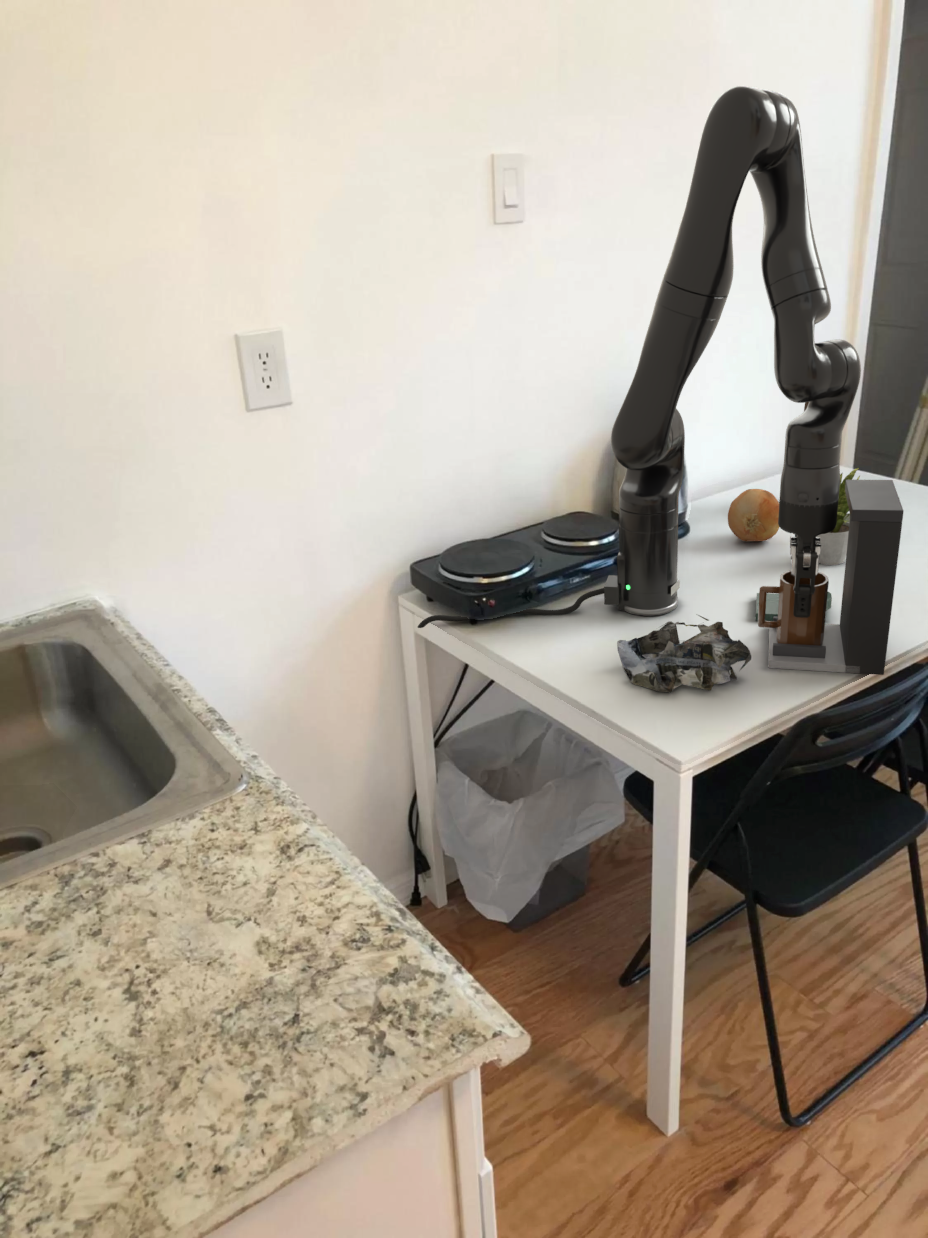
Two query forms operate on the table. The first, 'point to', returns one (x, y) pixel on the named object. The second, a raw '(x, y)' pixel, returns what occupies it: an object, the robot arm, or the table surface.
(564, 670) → the table surface
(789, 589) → the mug
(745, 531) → the onion
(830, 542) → the house plant
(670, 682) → the foil
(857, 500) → the coffee machine
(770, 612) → the block
